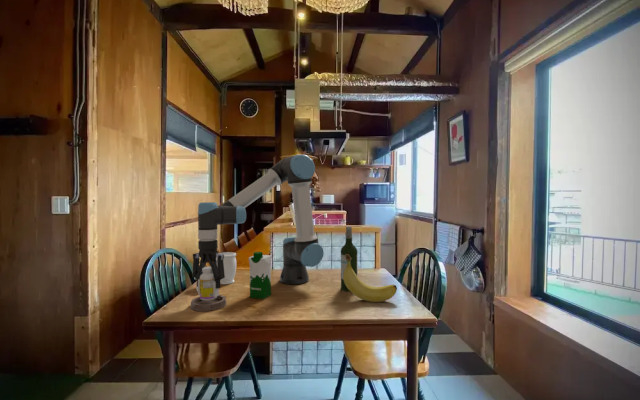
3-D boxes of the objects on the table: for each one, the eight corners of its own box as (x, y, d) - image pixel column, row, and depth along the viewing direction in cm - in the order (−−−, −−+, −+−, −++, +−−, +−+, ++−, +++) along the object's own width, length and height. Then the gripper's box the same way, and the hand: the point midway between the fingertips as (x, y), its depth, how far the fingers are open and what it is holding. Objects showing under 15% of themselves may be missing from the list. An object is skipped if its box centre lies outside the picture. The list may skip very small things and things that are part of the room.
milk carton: (247, 298, 142) (246, 253, 142) (257, 292, 151) (257, 249, 151) (264, 300, 140) (264, 254, 139) (274, 293, 148) (273, 250, 148)
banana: (396, 299, 139) (396, 253, 138) (397, 304, 133) (397, 256, 133) (343, 297, 142) (343, 252, 142) (342, 302, 136) (342, 255, 136)
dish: (233, 301, 138) (233, 295, 138) (212, 313, 125) (212, 306, 125) (205, 298, 142) (205, 293, 142) (183, 309, 129) (182, 303, 129)
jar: (239, 280, 173) (239, 252, 172) (232, 285, 162) (232, 255, 162) (220, 279, 174) (220, 251, 173) (212, 285, 163) (211, 255, 163)
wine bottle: (360, 289, 155) (360, 226, 154) (350, 292, 149) (350, 228, 148) (347, 285, 160) (347, 225, 159) (337, 289, 154) (337, 226, 154)
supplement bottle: (202, 296, 136) (202, 266, 136) (218, 295, 137) (218, 265, 137) (197, 301, 130) (197, 269, 130) (214, 301, 130) (214, 269, 130)
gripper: (233, 239, 134) (234, 294, 134) (194, 237, 139) (194, 290, 140) (223, 241, 126) (223, 300, 127) (181, 240, 132) (182, 295, 133)
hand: (208, 295), depth 133 cm, fingers closed on supplement bottle, 7 cm apart
